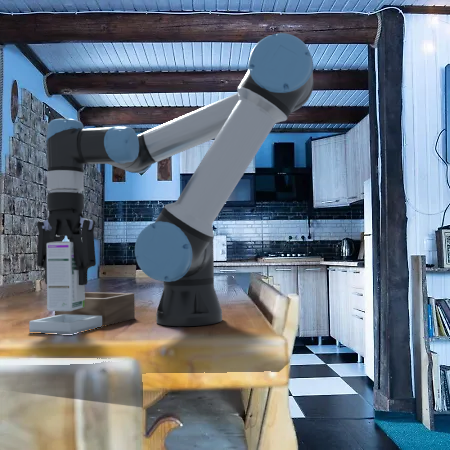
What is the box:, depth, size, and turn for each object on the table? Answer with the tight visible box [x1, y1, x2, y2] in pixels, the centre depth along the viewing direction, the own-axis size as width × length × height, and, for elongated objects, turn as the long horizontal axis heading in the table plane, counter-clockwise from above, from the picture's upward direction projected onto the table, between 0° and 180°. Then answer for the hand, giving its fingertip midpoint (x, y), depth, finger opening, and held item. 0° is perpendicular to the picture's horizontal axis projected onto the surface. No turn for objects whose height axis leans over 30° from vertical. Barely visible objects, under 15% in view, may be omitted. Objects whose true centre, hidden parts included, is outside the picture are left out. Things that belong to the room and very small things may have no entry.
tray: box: [28, 314, 103, 334], centre depth 106 cm, size 10×10×2 cm
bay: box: [54, 291, 136, 326], centre depth 119 cm, size 14×12×6 cm
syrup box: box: [46, 240, 85, 312], centre depth 107 cm, size 6×6×14 cm
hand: (66, 300), depth 107 cm, fingers closed on syrup box, 6 cm apart
